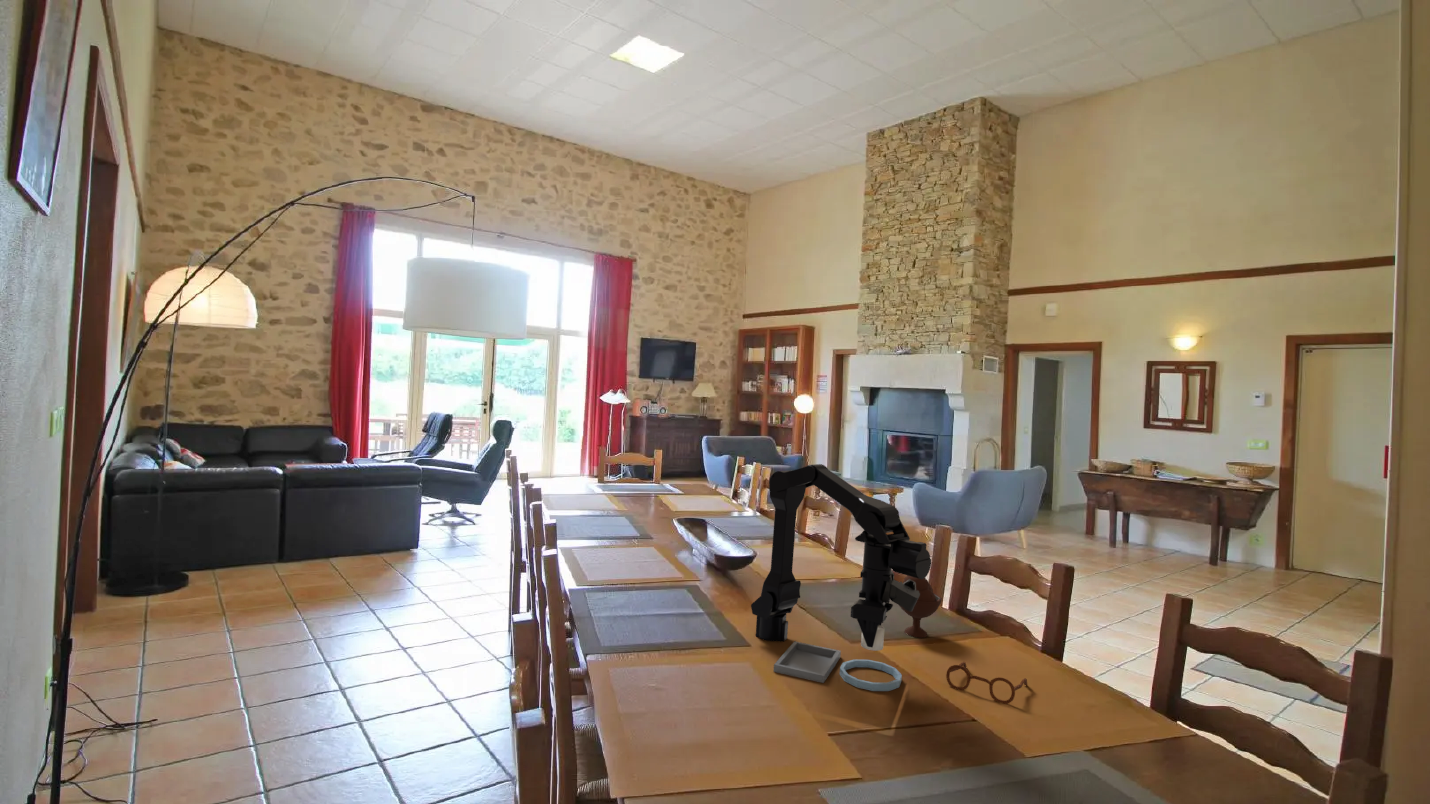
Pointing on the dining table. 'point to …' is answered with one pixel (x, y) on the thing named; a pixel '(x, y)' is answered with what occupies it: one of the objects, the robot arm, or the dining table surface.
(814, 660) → the parts tray
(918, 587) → the ice cream bowl
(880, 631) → the white marshmallow
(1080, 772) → the dining table surface
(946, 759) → the dining table surface
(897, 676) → the blue ring
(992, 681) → the glasses
